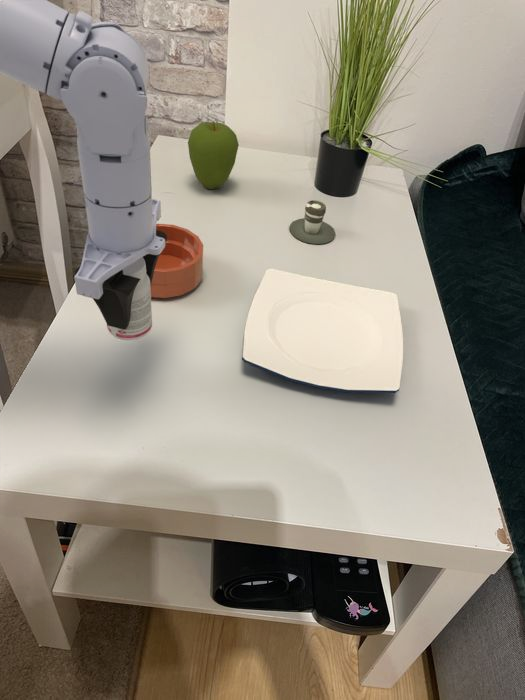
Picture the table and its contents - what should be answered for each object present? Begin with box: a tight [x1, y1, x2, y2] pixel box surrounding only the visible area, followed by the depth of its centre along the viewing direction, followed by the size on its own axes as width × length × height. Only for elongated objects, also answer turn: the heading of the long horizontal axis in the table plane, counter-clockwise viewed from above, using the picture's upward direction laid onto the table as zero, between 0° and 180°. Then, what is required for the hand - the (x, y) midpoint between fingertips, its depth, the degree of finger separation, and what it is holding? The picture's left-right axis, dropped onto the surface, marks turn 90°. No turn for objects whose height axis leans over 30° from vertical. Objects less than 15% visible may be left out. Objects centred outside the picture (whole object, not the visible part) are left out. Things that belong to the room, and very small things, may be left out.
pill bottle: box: [106, 257, 153, 341], centre depth 54 cm, size 5×5×8 cm
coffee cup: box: [288, 199, 336, 245], centre depth 86 cm, size 12×12×5 cm
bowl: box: [151, 223, 204, 299], centre depth 73 cm, size 11×11×5 cm
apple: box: [187, 121, 240, 190], centre depth 90 cm, size 9×8×12 cm
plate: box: [241, 268, 404, 394], centre depth 68 cm, size 20×20×3 cm
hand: (128, 309), depth 55 cm, fingers closed on pill bottle, 5 cm apart
